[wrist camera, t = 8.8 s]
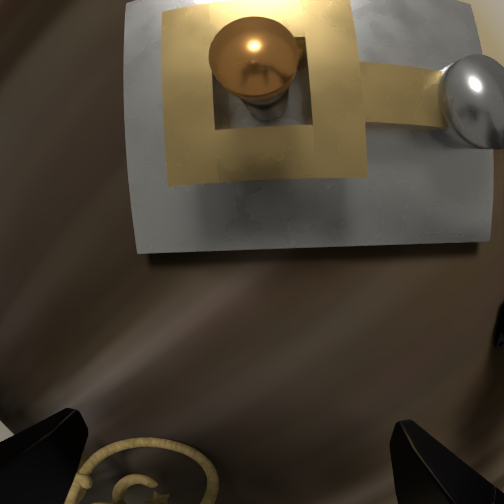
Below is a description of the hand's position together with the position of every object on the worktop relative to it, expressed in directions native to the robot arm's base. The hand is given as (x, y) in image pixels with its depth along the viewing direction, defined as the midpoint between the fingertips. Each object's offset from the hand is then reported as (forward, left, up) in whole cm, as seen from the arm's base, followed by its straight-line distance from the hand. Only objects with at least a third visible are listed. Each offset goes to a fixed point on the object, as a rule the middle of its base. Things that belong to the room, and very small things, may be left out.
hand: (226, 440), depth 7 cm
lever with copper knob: (-1, -10, -12) cm, 15 cm away
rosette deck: (-4, -10, -13) cm, 17 cm away
